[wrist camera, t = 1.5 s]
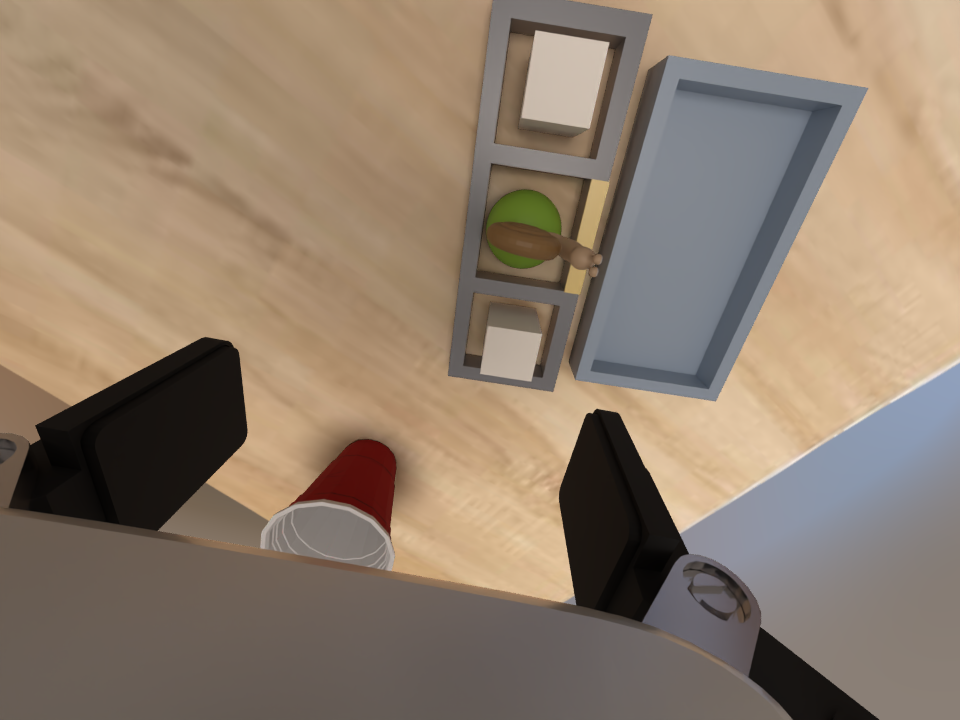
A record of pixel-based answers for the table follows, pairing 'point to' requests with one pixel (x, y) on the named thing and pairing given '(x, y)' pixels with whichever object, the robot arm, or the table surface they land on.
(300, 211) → the table surface
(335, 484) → the plastic cup
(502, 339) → the block
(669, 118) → the tray
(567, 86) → the block
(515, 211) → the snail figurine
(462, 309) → the rack
